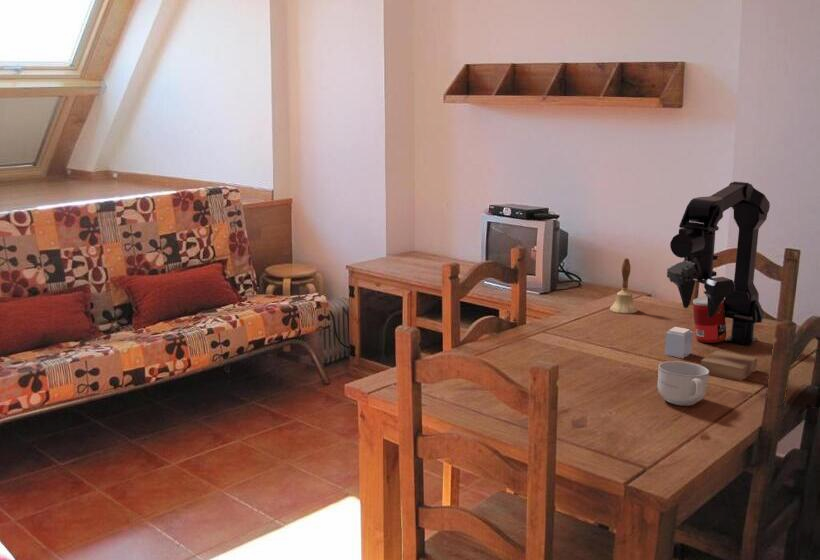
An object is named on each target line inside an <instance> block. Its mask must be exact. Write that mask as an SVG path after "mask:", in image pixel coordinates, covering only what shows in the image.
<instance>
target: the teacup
mask: <svg viewBox="0 0 820 560" xmlns="http://www.w3.org/2000/svg"><path fill="white" fill-rule="evenodd" d="M657 367H658V371H657V385H656V386H657V391H658V393H659V395H660V396H661V397H662V398H663V399H664V400H665V401H666V402H667V403H669V404H673V405H677V406H693V405H696V404H697V403H698V402H700V401H702V400H703V398H705V395H706V392H707V387H708V381H709V380H708V379H709V375H710V374H709V370H708V369H707V368H705V367H703V366H701V364H696V363H695V362H694V363H693V362H687V361H680V360H678V361H677V360H667V361H662V362H660V363H659V364H658V366H657Z"/></svg>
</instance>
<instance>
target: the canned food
mask: <svg viewBox="0 0 820 560" xmlns="http://www.w3.org/2000/svg"><path fill="white" fill-rule="evenodd" d="M692 311H693V313H692V314H693V320H694V321H693V322H694V333H695V339H696V341H698V342H700V343H706V344H712V343H714V344H715V343H721V342H723V341H726V339H727V325H726V318H725V309H724V299H723V301H722V302H721V304H720V305H719V307H718V309H717V310H716V312H715V314H714V315H713V317H711V318H709V317H708V298H707V296H706V295H705V296H700V297H696V298H695V299H693V300H692Z"/></svg>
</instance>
